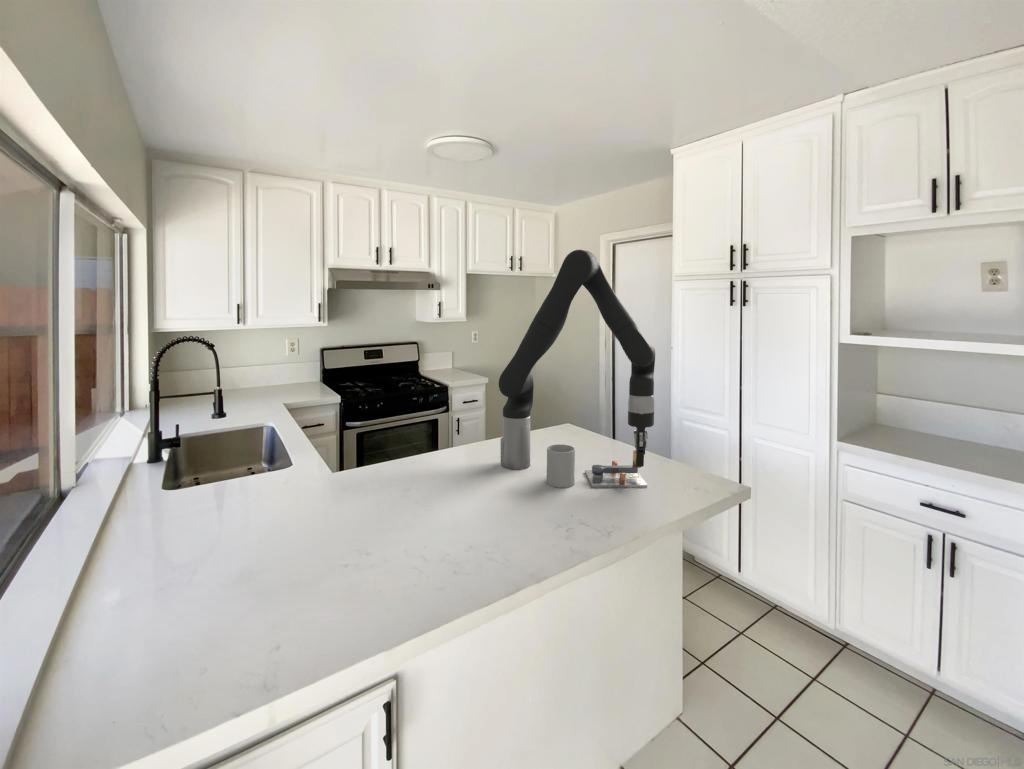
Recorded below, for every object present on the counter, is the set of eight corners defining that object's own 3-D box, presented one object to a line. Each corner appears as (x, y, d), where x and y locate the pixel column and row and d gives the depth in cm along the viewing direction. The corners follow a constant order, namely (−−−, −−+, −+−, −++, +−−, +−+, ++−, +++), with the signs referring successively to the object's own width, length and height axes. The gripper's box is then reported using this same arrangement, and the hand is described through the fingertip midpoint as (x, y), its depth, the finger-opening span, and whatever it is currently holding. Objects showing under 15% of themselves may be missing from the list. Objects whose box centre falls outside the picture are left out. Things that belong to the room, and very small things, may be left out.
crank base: (591, 487, 144) (592, 474, 144) (584, 472, 157) (585, 460, 157) (647, 487, 145) (647, 474, 144) (635, 472, 158) (636, 460, 157)
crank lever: (593, 474, 149) (593, 453, 147) (590, 470, 152) (591, 450, 151) (642, 474, 149) (643, 453, 148) (639, 469, 153) (640, 449, 151)
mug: (576, 488, 144) (577, 452, 142) (547, 488, 144) (548, 452, 142) (570, 473, 156) (571, 440, 154) (544, 474, 156) (544, 441, 154)
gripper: (627, 405, 151) (626, 458, 154) (628, 413, 138) (627, 472, 141) (652, 405, 149) (651, 460, 152) (655, 414, 137) (654, 473, 139)
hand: (639, 465), depth 146 cm, fingers closed
